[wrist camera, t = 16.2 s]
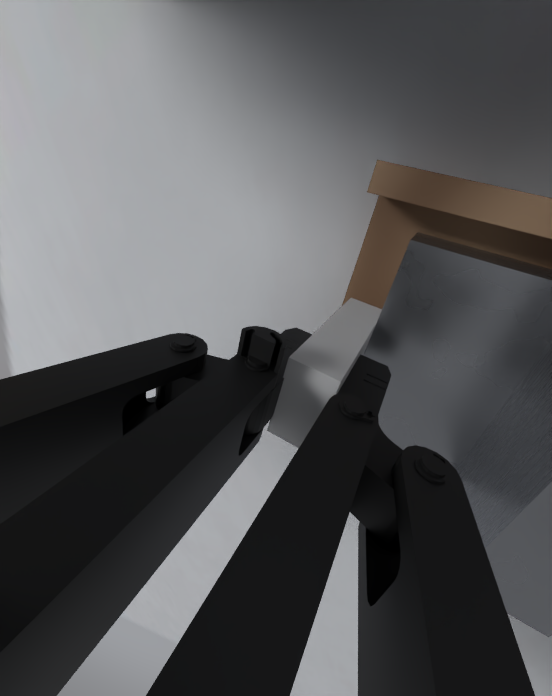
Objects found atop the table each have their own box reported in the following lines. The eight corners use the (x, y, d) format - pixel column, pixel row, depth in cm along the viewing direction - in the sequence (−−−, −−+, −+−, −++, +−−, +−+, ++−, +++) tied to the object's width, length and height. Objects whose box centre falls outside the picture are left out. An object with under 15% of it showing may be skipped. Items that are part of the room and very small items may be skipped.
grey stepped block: (353, 387, 17) (299, 492, 11) (418, 232, 13) (388, 261, 7) (508, 456, 15) (548, 637, 9) (643, 294, 11) (893, 420, 5)
